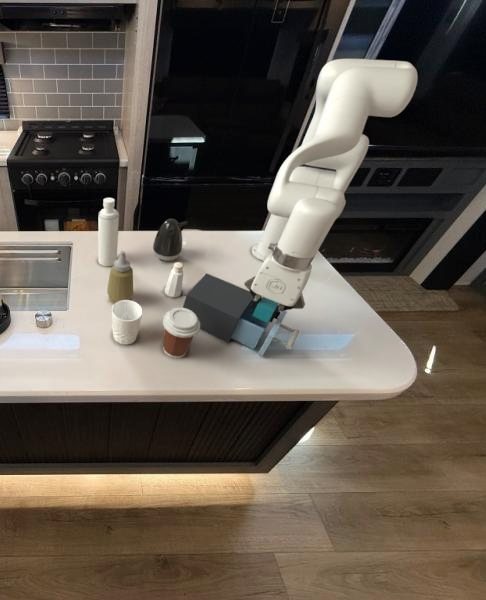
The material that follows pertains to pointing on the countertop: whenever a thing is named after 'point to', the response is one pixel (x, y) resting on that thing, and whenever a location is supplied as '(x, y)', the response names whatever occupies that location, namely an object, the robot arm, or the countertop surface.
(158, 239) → the pump dispenser
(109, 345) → the countertop surface
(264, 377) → the countertop surface
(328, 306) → the countertop surface
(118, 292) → the squeeze bottle
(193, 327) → the coffee cup
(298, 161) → the robot arm
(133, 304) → the white cup
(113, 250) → the white bottle
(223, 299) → the dark grey drawer cabinet
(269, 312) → the teal cube
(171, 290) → the pepper shaker
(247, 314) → the drawer
